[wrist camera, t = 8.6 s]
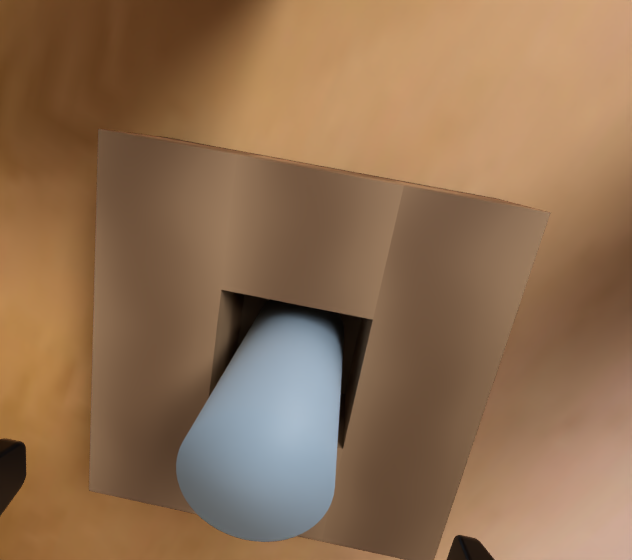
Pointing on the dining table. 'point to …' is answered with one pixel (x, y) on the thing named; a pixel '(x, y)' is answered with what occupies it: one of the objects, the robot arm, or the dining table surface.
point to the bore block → (306, 290)
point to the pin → (269, 429)
